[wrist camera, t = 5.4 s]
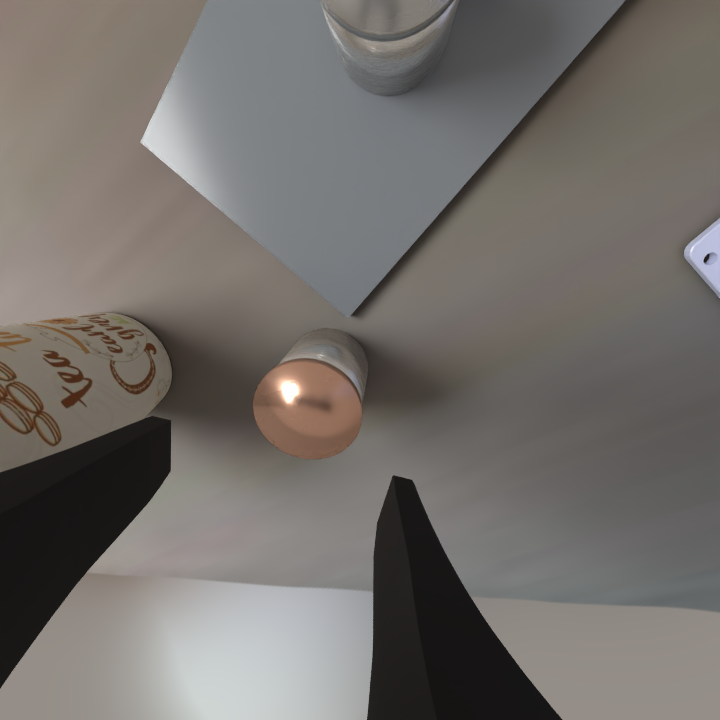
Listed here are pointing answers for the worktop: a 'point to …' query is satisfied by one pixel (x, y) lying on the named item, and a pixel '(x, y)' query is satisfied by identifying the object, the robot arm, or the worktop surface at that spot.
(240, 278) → the worktop surface
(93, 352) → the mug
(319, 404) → the cylinder
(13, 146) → the worktop surface
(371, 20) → the tin middle
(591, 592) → the worktop surface
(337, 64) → the slate board
